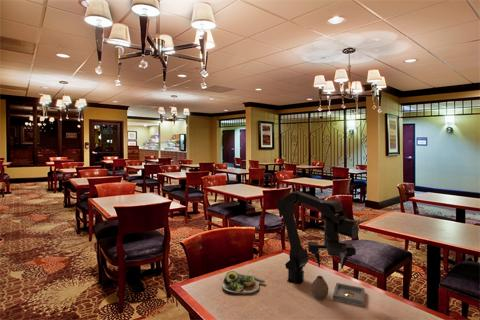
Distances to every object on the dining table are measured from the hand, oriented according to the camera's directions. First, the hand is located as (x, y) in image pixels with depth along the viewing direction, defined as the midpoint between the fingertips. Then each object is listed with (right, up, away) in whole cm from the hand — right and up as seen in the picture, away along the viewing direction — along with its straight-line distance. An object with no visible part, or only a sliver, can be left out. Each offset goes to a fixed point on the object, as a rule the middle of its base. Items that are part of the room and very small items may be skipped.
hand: (330, 267), depth 119 cm
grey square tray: (+8, -12, +1) cm, 15 cm away
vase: (-4, -13, 0) cm, 13 cm away
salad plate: (-38, -12, +11) cm, 42 cm away
